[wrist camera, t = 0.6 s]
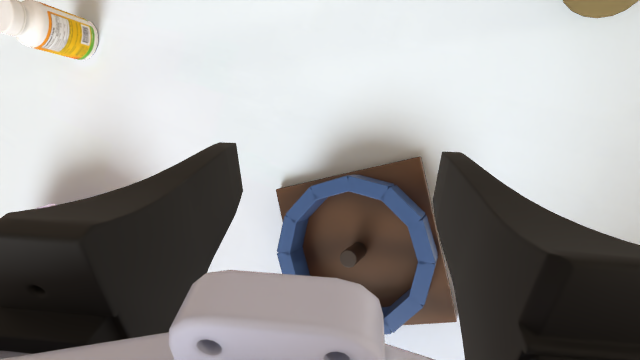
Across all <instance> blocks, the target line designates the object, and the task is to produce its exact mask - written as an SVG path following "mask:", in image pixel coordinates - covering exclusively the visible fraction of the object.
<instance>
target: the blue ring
mask: <svg viewBox="0 0 640 360" xmlns="http://www.w3.org/2000/svg"><path fill="white" fill-rule="evenodd" d="M348 191H349V192H353V193H356V194H360V195H364V196H367V197H371V198H374V199H378V200H381V201H382V202H383V203H385V204H386V205H387V206H388V207H389V208H390V209H391V210H392V211H393V212H394V213H395V214H396V215H397V216H398V217H399V218H400V219H401V220H402V221H403V222H404V223H405V224H406V225H407V226H408V229H409V233H410V236H411V240H412V243H413V247H414V250H415V254H416V257H417V260H418V264H417V268H416V272H415V275H414V279H413V283H412V287H411V288H410V289H409V290H408V291H407V292H406V293H405V294H403V295H402V296H401V297H400V298H399V299H398V300H397V301H396V302H394V303H393V304H392V305H391V306H389V307H382V308H381V309H382V312H383V318H384V334H391V333H392V332H393V333H394V332H395V331H396V330H397V329H398V328H399V327H401V326H402V325H403V324H404V323H405V322H406V321H408V320H409V319H410V318H411V317H412V316H414V315H415V314H416V313H417V312H418V311H419V310H421V309H422V308H423V306H424V305H425V302H426V298H427V295H428V291H429V288H430V284H431V280H432V277H433V273H434V269H435V266H436V262H437V258H438V256H437V255H438V252H437V249H436V245H435V242H434V239H433V235H432V232H431V228H430V225H429V222H428V218H427V215H425V212H424V211H423V210H422V209H421V208H420V207H419V206H418V205H417V204H416V203H414V202H413V201H412V200H411V199H410V198H409V197H408V196H407V195H406V194H405V193H404V192H403V191H402V190H401V189H400V188H399V187H398V186H397V185H395V186H394V184H393V183H389V182H385V181H381V180H378V179H374V178H370V177H366V176H362V175H356V174H355V175H347V176H343V177H340V178H336V179H333V180H330V181H326V182H323V183H320V184H316V185H313V186H311V187H309V188H308V189H307V190H306V191H305V193H304V194H303V195H302V196H301V197H300V198H299V199H298V200H297V202H296V203H295V204H294V205H293V206H292V207H291V208H290V209H289V211H288V212H287V213H286V215H285V216H284V220H283V225H282V230H281V235H280V239H279V244H278V249H277V252H279V253H277V256H278V259H279V263H280V267H281V270H282V274H290V275H304V276H310V273H309V269H308V265H307V262H306V258H305V254H304V251H303V247H302V246H303V242H304V237H305V233H306V228H307V224H308V219H309V217H310V216H311V215H312V214H313V213H314V212H315V211H316V210H317V209H318V208H319V206H320V205H321V204H322V203H323V202H324V201H325V200H326V199H327V198H328V197H330V196H334V195H337V194H341V193H344V192H348Z"/></svg>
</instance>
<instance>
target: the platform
mask: <svg viewBox="0 0 640 360" xmlns="http://www.w3.org/2000/svg"><path fill="white" fill-rule="evenodd" d="M355 174H356V175H362V176H366V177H370V178H374V179H378V180H381V181H385V182H389V183H393V184H394V186H395V185H397V186H398V187H399V188H400V189H401V190H402V191H403V192H404V193H405V194H406V195H407V196H408V197H409V198H410V199H411V200H412V201H413V202H414V203H416V204H417V205H418V206H419V207H420V208H421V209H422V210H423V211H424V212H425V215H427V218H428V222H429V225H430V228H431V232H432V235H433V239H434V242H435V245H436V249H437V252H438V255H437V256H438V258H437V262H436V266H435V269H434V273H433V277H432V280H431V284H430V288H429V291H428V295H427V298H426V302H425V305H424V306H423V308H422V309H421V310H419V311H418V312H417V313H416V314H415V315H414V316H412V317H411V318H410V319H409V320H408V321H406V322H405V323H404V324H403V325H414V324H430V323H447V322H457V316H456V311H455V307H454V302H453V298H452V293H451V289H450V284H449V280H448V275H447V271H446V266H445V262H444V257H443V253H442V248H441V244H440V239H439V235H438V231H437V226H436V222H435V217H434V213H433V208H432V204H431V199H430V195H429V190H428V186H427V181H426V177H425V172H424V168H423V163H422V159H421V157H416V158H412V159H407V160H403V161H398V162H394V163H390V164H385V165H381V166H376V167H372V168H368V169H363V170H359V171H355V172H350V173H346V174H341V175H337V176H333V177H328V178H324V179H319V180H315V181H311V182H306V183H302V184H298V185H293V186H289V187H284V188H280V189H276V192H277V197H278V202H279V206H280V211H281V216H282V221H283V220H284V216H285V215H286V213H287V212H288V211H289V209H290V208H291V207H292V206H293V205H294V204H295V203H296V202H297V200H298V199H299V198H300V197H301V196H302V195H303V194H304V193H305V191H306V190H307V189H308V188H309V187H311V186H313V185H316V184H320V183H323V182H326V181H330V180H333V179H336V178H340V177H343V176H347V175H355ZM302 247H303V251H304V254H305V258H306V262H307V265H308V269H309V273H310V276H317V277H330V278H339V279H342V280H346V281H350V282H354V283H358V284H361V285H362V286H364V287H365V288H366V289H367V290H368V291H370V292H371V293H372V294H373V295H375V296H376V297H377V298H378V299H379V301H380V305H381V308H382V307H389V306H391V305H392V304H393V303H394V302H396V301H397V300H398V299H399V298H400V297H401V296H402V295H403V294H405V293H406V292H407V291H408V290H409V289H410V288H411V287H412V283H413V279H414V275H415V272H416V268H417V264H418V260H417V257H416V254H415V250H414V247H413V243H412V240H411V236H410V233H409V229H408V226H407V225H406V224H405V223H404V222H403V221H402V220H401V219H400V218H399V217H398V216H397V215H396V214H395V213H394V212H393V211H392V210H391V209H390V208H389V207H388V206H387V205H386V204H385V203H383V202H382V201H381V200H378V199H374V198H371V197H367V196H364V195H360V194H356V193H353V192H349V191H348V192H344V193H341V194H337V195H334V196H330V197H328V198H327V199H326V200H325V201H324V202H323V203H322V204H321V205H320V206H319V208H318V209H317V210H316V211H315V212H314V213H313V214H312V215H311V216H310V217H309V219H308V224H307V228H306V233H305V237H304V242H303V246H302Z"/></svg>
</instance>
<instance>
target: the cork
mask: <svg viewBox="0 0 640 360" xmlns="http://www.w3.org/2000/svg"><path fill="white" fill-rule="evenodd" d="M637 1H639V0H563V2H564V3H565V4H566V5H567V6H568V7H569V8H570V10H571V11H573V12H575V13H577V14H579V15H582V16H585V17H592V18H601V17H608V16H613V15H615V14H618V13H620V12H622V11H625V10H627V9H628V8H629V7H631V6H632V5H633V4H635V3H636V2H637Z"/></svg>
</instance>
